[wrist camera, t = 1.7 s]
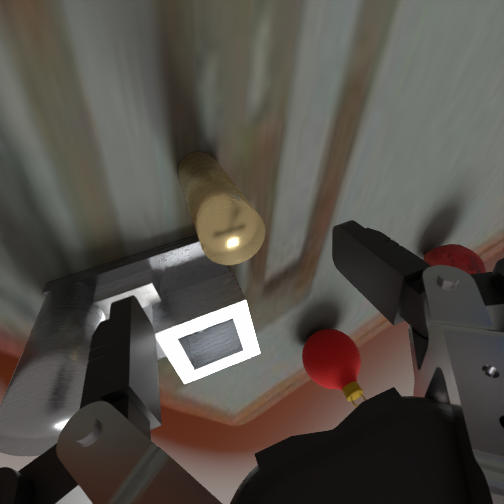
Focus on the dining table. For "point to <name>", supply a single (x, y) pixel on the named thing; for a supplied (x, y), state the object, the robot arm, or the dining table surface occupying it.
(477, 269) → the onion
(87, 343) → the grey desk organizer
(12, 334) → the dining table surface
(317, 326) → the dining table surface
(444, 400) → the robot arm
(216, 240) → the gold cylinder
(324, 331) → the christmas ornament
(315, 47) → the dining table surface
